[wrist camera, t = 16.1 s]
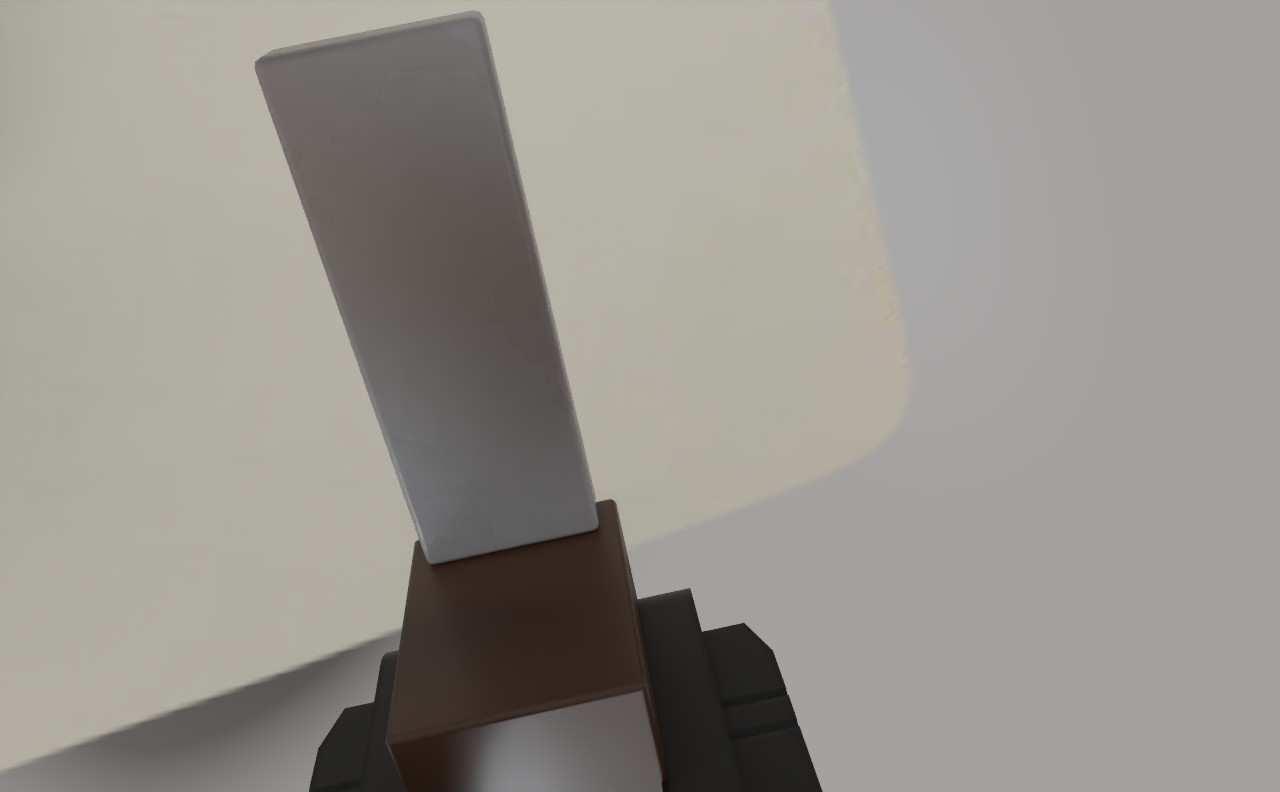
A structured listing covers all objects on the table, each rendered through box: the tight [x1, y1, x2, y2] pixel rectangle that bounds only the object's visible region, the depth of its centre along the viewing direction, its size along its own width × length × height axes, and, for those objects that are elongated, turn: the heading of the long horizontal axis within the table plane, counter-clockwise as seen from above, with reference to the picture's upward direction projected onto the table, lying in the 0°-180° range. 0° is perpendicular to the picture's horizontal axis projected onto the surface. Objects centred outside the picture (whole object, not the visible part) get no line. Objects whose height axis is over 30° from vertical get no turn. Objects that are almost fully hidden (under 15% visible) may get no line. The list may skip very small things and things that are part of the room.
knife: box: [255, 11, 669, 792], centre depth 9 cm, size 10×2×3 cm, turn 10°
